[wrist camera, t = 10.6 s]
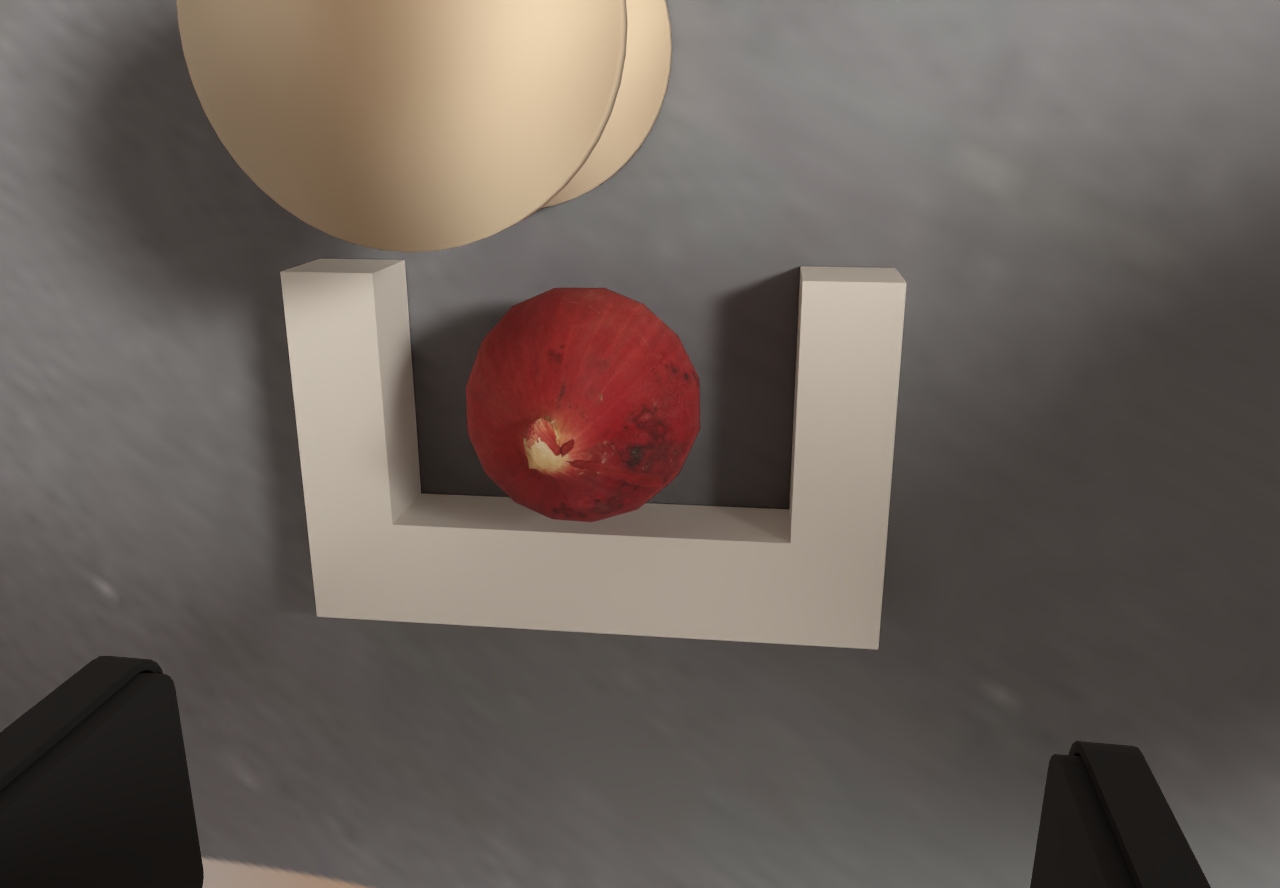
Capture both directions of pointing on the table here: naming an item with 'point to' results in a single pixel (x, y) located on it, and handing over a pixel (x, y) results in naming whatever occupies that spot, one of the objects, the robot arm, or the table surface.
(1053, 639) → the table surface
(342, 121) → the spool
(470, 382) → the onion
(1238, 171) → the table surface
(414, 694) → the table surface
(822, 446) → the notch board
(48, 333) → the table surface
